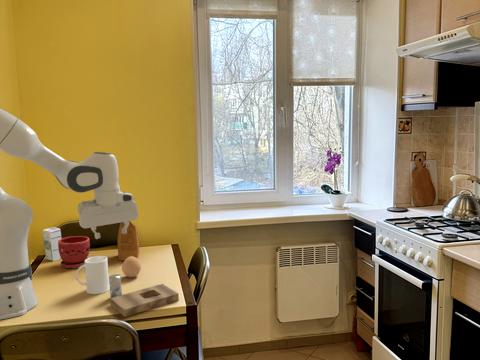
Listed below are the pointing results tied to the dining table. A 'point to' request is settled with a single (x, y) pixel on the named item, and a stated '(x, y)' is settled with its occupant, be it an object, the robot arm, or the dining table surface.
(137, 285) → the dining table surface
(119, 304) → the plate
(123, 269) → the egg
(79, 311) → the dining table surface
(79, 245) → the plant pot
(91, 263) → the mug
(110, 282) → the peg
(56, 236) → the syrup box
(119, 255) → the coffee package
